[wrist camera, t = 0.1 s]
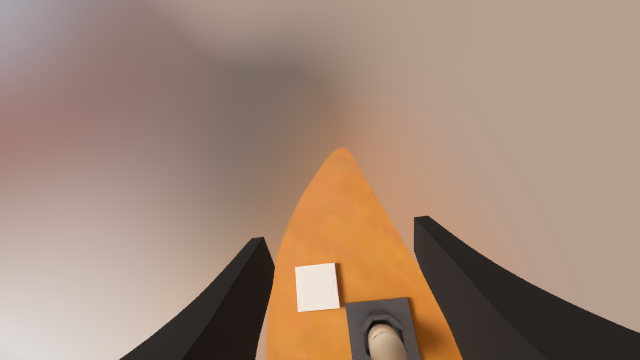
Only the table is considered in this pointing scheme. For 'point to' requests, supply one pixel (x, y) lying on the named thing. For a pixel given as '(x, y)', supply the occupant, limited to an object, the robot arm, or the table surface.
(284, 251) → the table surface
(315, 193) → the table surface
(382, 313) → the housing
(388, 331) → the tan cylinder
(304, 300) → the tile pad
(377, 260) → the table surface
